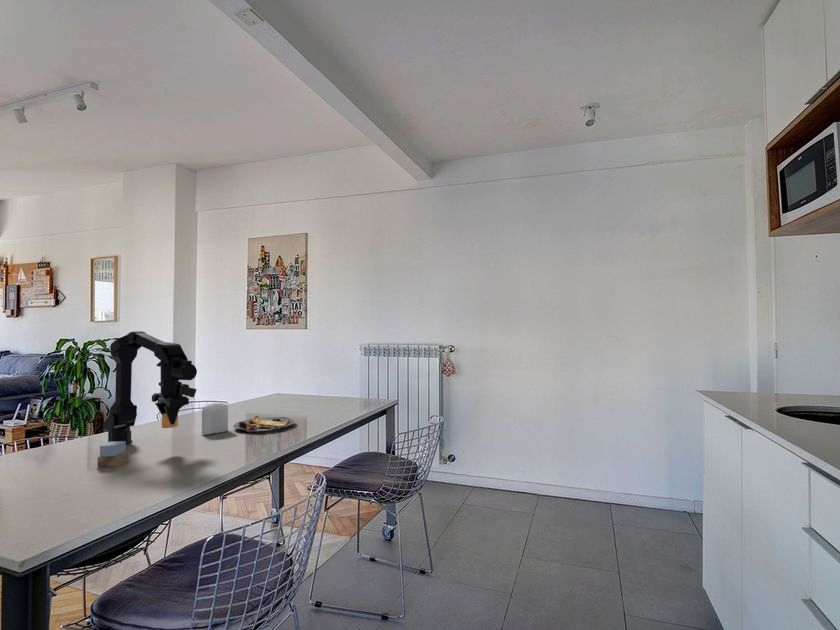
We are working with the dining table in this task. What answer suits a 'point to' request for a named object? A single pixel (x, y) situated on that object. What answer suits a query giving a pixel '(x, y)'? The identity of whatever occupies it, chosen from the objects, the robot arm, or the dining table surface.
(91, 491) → the dining table surface
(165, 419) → the orange cylinder
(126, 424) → the robot arm
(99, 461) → the walnut base block
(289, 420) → the food plate
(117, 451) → the slate top block
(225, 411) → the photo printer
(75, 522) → the dining table surface
